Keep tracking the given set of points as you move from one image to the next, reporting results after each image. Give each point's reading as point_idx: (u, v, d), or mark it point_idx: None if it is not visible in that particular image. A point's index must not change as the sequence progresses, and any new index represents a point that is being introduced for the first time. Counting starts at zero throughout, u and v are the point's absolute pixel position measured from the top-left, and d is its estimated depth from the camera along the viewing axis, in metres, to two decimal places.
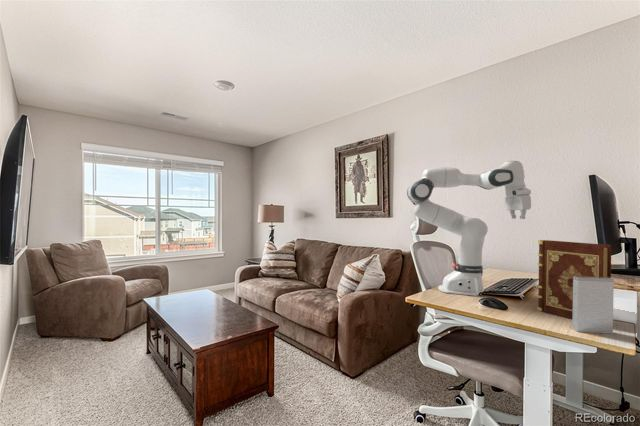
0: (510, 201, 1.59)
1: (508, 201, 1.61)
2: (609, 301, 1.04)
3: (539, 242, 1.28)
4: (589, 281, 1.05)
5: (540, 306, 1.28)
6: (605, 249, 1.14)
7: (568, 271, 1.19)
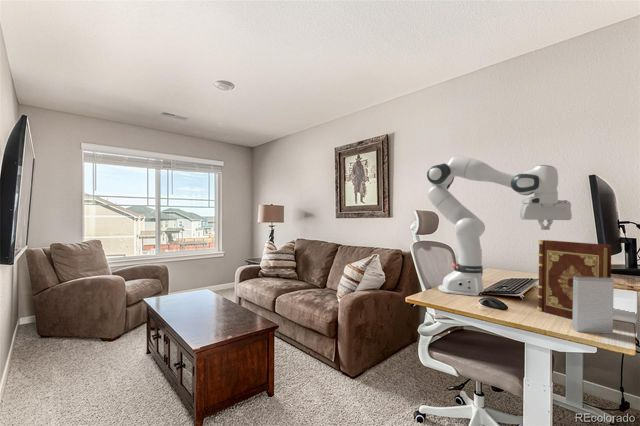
0: None
1: None
2: (609, 301, 1.04)
3: (539, 242, 1.28)
4: (589, 281, 1.05)
5: (540, 306, 1.28)
6: (605, 249, 1.14)
7: (568, 271, 1.19)
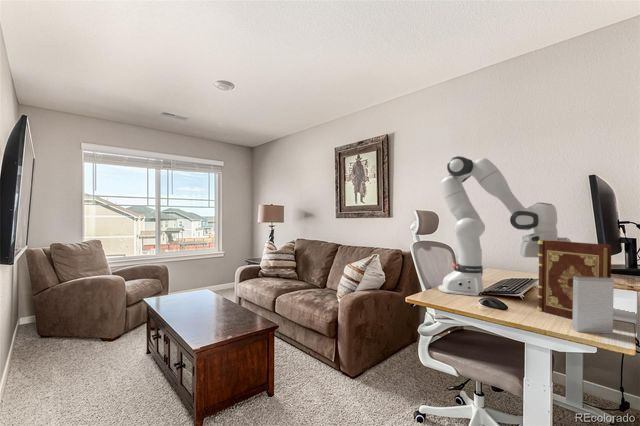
0: None
1: None
2: (609, 301, 1.04)
3: (539, 242, 1.28)
4: (589, 281, 1.05)
5: (540, 306, 1.28)
6: (605, 249, 1.14)
7: (568, 271, 1.19)
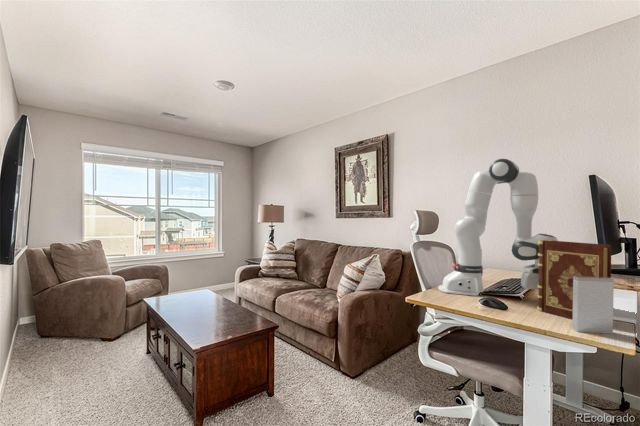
0: None
1: None
2: (609, 301, 1.04)
3: (539, 242, 1.28)
4: (589, 281, 1.05)
5: (540, 306, 1.28)
6: (605, 249, 1.14)
7: (568, 271, 1.19)
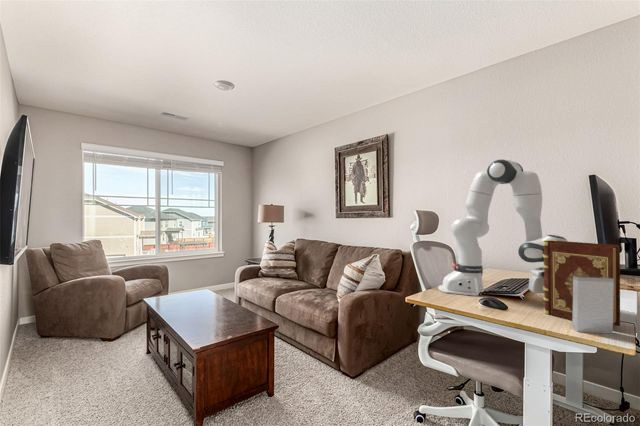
0: None
1: None
2: (609, 301, 1.04)
3: (544, 243, 1.23)
4: (589, 281, 1.05)
5: (547, 309, 1.24)
6: (614, 250, 1.09)
7: (576, 273, 1.15)
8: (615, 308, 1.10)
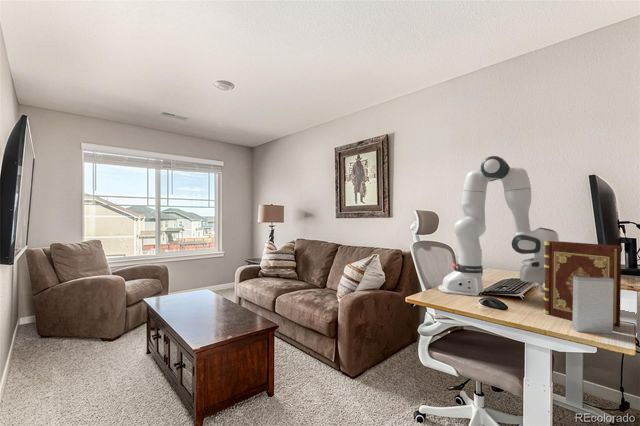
0: None
1: None
2: (609, 301, 1.04)
3: (545, 243, 1.24)
4: (589, 281, 1.05)
5: (547, 309, 1.24)
6: (615, 250, 1.10)
7: (577, 273, 1.15)
8: (615, 309, 1.11)
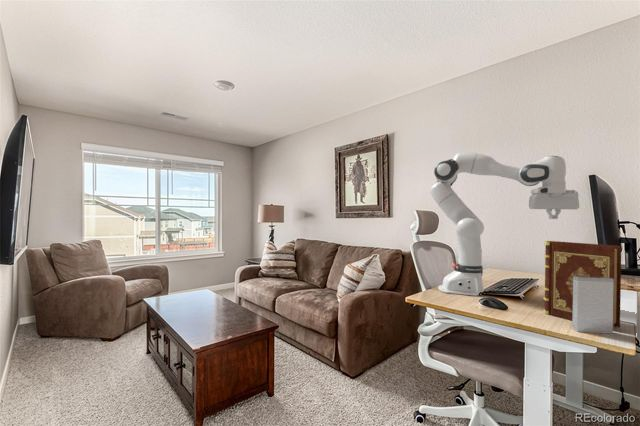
0: None
1: None
2: (609, 301, 1.04)
3: (546, 243, 1.24)
4: (589, 281, 1.05)
5: (547, 309, 1.24)
6: (615, 250, 1.10)
7: (577, 273, 1.15)
8: (615, 309, 1.11)
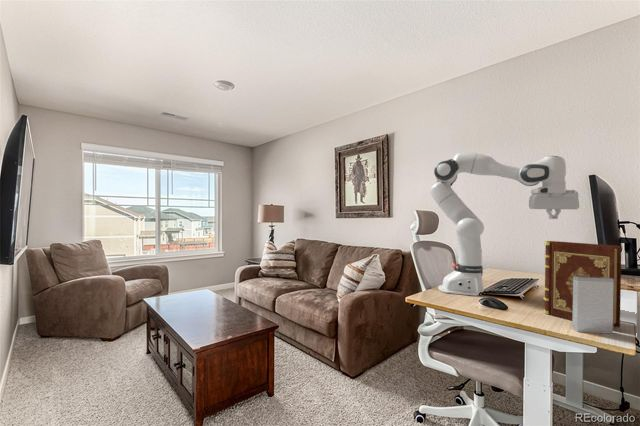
0: None
1: None
2: (609, 301, 1.04)
3: (546, 243, 1.24)
4: (589, 281, 1.05)
5: (547, 309, 1.24)
6: (615, 250, 1.10)
7: (577, 273, 1.15)
8: (615, 309, 1.11)
